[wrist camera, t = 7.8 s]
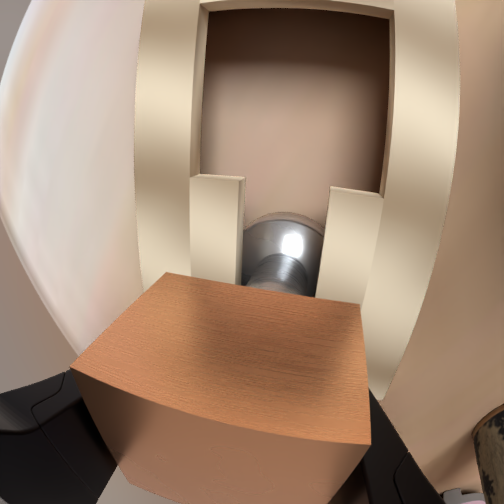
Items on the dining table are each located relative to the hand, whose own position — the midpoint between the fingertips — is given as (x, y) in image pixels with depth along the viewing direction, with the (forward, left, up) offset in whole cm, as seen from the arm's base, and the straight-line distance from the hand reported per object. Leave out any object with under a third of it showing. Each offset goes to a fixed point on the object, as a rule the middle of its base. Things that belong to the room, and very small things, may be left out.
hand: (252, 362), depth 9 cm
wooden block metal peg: (0, 0, -7) cm, 7 cm away
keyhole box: (+2, -4, -8) cm, 9 cm away
